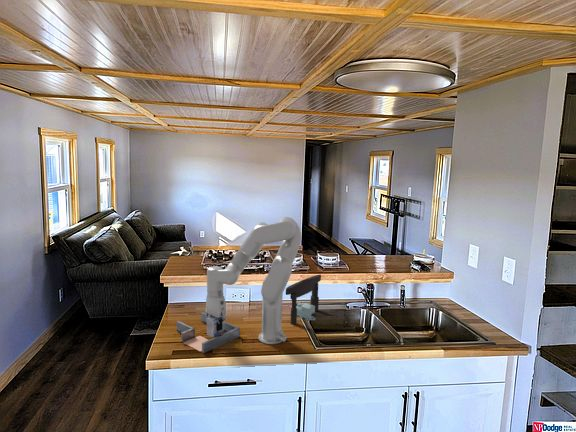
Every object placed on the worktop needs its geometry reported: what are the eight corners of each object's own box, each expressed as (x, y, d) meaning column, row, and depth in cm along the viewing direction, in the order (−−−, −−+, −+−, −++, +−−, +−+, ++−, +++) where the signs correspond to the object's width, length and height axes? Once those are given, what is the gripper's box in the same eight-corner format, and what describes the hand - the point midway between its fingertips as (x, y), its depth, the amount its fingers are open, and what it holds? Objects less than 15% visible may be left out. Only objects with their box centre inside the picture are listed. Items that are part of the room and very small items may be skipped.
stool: (274, 283, 211) (309, 270, 237) (273, 321, 214) (308, 304, 240) (298, 290, 202) (332, 275, 228) (297, 330, 205) (330, 311, 231)
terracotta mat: (216, 344, 188) (216, 343, 188) (200, 352, 180) (200, 351, 180) (199, 336, 195) (199, 335, 195) (183, 343, 188) (183, 342, 188)
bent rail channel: (239, 336, 196) (239, 327, 196) (203, 353, 179) (203, 343, 179) (202, 320, 214) (202, 312, 213) (166, 333, 197) (166, 325, 196)
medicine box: (213, 337, 191) (213, 320, 189) (206, 335, 193) (206, 318, 192) (224, 331, 197) (224, 314, 196) (217, 329, 200) (217, 312, 198)
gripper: (233, 294, 189) (233, 331, 192) (209, 286, 200) (210, 321, 203) (221, 298, 184) (221, 336, 187) (197, 290, 194) (198, 325, 197)
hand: (215, 328), depth 195 cm, fingers closed on medicine box, 4 cm apart
